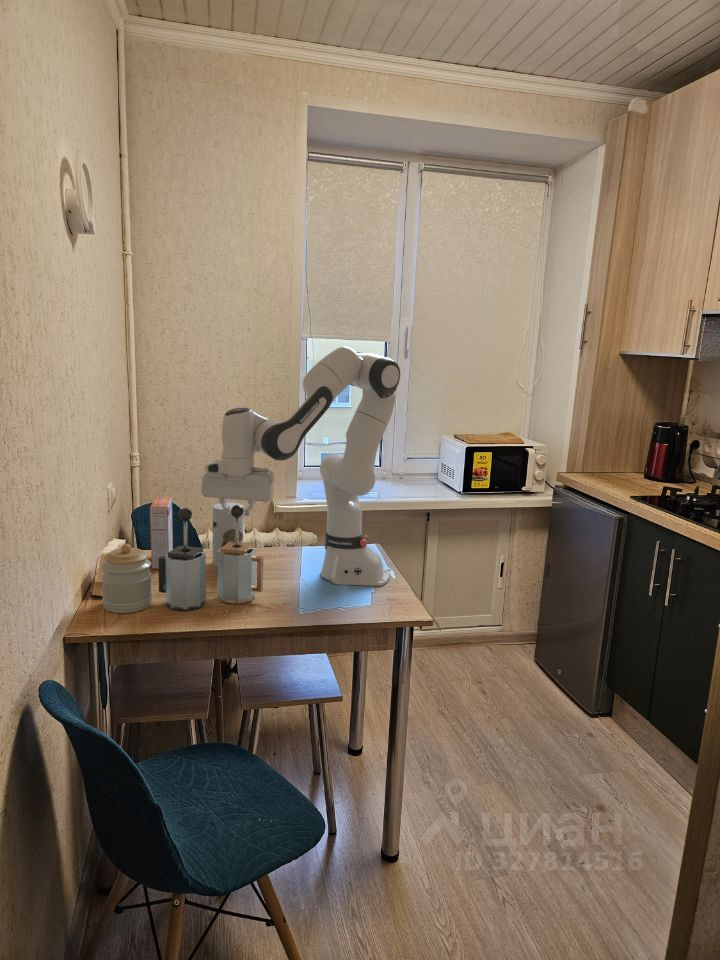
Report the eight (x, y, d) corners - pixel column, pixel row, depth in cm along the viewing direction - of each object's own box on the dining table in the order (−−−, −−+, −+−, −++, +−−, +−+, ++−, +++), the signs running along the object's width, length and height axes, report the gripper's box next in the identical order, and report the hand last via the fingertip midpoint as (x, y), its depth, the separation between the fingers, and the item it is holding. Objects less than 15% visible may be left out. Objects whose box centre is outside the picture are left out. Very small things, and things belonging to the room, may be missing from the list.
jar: (158, 597, 190) (157, 538, 187) (142, 615, 178) (141, 552, 174) (113, 595, 191) (111, 536, 187) (94, 612, 178) (92, 549, 174)
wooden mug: (217, 586, 201) (217, 529, 197) (216, 571, 214) (216, 517, 210) (247, 585, 203) (247, 528, 199) (244, 570, 216) (245, 517, 212)
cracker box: (155, 555, 226) (154, 496, 222) (173, 555, 227) (172, 496, 223) (150, 569, 213) (149, 506, 209) (169, 569, 214) (168, 506, 210)
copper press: (266, 594, 197) (267, 543, 193) (255, 607, 186) (256, 554, 183) (225, 589, 198) (226, 539, 195) (212, 602, 188) (212, 549, 185)
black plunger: (204, 564, 188) (203, 506, 184) (193, 573, 180) (192, 512, 177) (178, 562, 189) (178, 503, 185) (166, 570, 181) (166, 510, 178)
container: (211, 559, 225) (211, 502, 221) (240, 558, 228) (241, 501, 224) (214, 569, 216) (214, 509, 212) (244, 567, 219) (245, 508, 215)
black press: (210, 598, 191) (210, 546, 188) (196, 612, 181) (195, 557, 178) (168, 594, 193) (168, 542, 190) (152, 607, 183) (151, 553, 180)
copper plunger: (253, 560, 194) (254, 503, 190) (245, 568, 186) (245, 509, 183) (228, 557, 195) (229, 501, 191) (219, 565, 187) (219, 507, 184)
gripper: (276, 467, 186) (275, 514, 189) (207, 461, 189) (207, 508, 192) (270, 471, 180) (269, 520, 183) (199, 465, 183) (199, 513, 186)
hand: (237, 514), depth 188 cm, fingers open, 5 cm apart
